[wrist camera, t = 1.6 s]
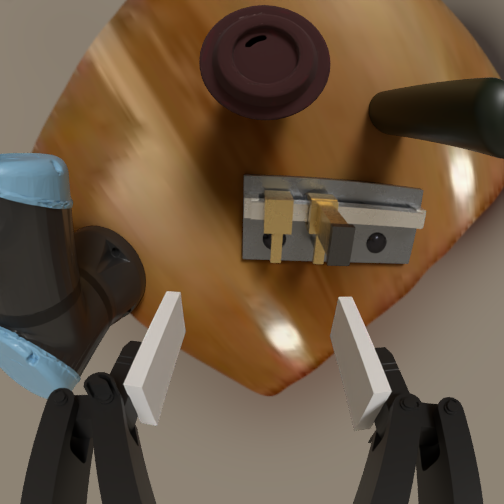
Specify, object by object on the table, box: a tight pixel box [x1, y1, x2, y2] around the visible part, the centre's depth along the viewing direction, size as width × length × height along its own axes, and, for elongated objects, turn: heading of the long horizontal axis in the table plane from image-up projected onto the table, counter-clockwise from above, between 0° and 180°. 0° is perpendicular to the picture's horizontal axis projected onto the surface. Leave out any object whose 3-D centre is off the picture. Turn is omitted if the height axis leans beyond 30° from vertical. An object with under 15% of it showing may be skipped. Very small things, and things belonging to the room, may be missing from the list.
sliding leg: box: [305, 193, 355, 266], centre depth 31 cm, size 3×8×12 cm, turn 179°
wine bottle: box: [369, 78, 504, 159], centre depth 17 cm, size 6×6×30 cm
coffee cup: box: [200, 5, 330, 120], centre depth 24 cm, size 10×10×15 cm
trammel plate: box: [243, 174, 426, 264], centre depth 35 cm, size 24×11×6 cm, turn 89°
